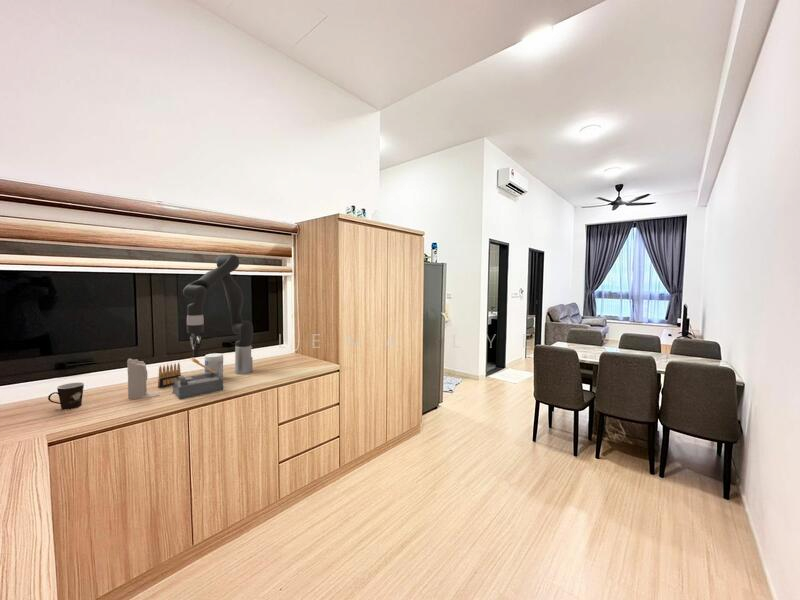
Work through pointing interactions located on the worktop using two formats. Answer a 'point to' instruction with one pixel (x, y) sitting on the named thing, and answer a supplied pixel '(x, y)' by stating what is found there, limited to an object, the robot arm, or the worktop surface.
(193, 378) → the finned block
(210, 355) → the supplement tub
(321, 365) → the worktop surface
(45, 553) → the worktop surface
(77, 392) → the coffee mug
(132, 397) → the grey upright block
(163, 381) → the ammunition clip
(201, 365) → the retention lever
